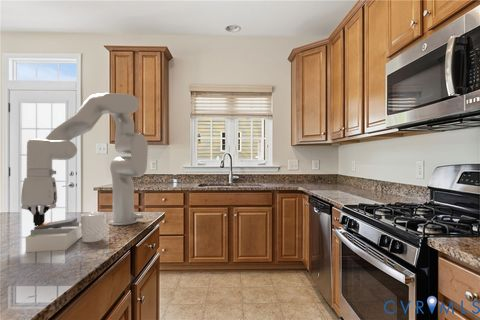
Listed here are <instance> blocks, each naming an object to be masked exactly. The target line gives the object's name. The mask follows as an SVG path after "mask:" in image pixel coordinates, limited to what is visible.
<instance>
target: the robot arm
mask: <svg viewBox="0 0 480 320" xmlns="http://www.w3.org/2000/svg"><path fill="white" fill-rule="evenodd" d="M139 106H140V103H139V99H138V98H137V96H135V95H133V94H130V93H118V92H117V93H115V92H104V93H95V94H91V95H90V96H89V97H87V98H86V99H85V100H84V101H83V103H82V104H81V106H80V107H79V108H78V109H77V110H76V111H75V112H74V113H73V115H72V116H71V117H69V118H68V119H66V120H65V121H64V122H62V123H61V124H60V125H58V126H57V127H55V128H54V129H53V130H52V131H50V132H49V134H48V135H47V136H46V137H45V138H44V139H43V138H41V139H40V138H31V139H29V140H27V142H26V177H25V178H24V180H23V183H22V187H21V195H20V197H21V199H20V201H21V202H20V203H21V209H22V210H27V211H28V212H30V213H31V215H33V216H32V217H33V219H32V221H33V225H34V227H36V226H40V225H42V224H43V223H45V219H46V218H45V216H46V213H47V212H48V211H49V210H51V209H56V207H57V204H56V203H58V189H57V182H56V177H54V176H53V175H57V170H54V169H53V161H55V160H56V161H58V160H59V161H66V160H71V159H73V158H74V157H75V156H76V155H77V153H78V148H77V146H76V144H75V143H74V142H72V141H71V140H73V139H74V138H77V137H79V136H82V135H84V134H86V133H88V132H90V131H91V130H92V129H93V128H94V127H95V125H96V124H97V123H98V121H99V120H100V119H101V117H102V116H103V115H104V114H105V115H106V114H109V116H111V117H112V119H113V121H114V123H115V132H114V134H115V135H114V149H115V151H116V152H117V153H119V154H123V155H125V154H126V156H117V157H115V158H113V159H112V160H111V162H110V164H109V165H110V166H109V170H110V174H111V179H112V219H110V220H109V221H108V224H109V225H112V226H127V225H132V224H136V223H137V222H138V219H144V217H145V216H144V213H143V214H142V213H136V211H135V185H134V184H135V183H134V181H133V178H138V177H139V178H140V177H142V176H144V175H145V174H146V171H147V170H148V169H147V168H148V156H149V155H148V152H149V144H148V140H147V138H146V137H145V135H143V134H141V133H139V132H138V133H136V132H135V122H134V121H135V120H134V119H133V118H132V116H131V114H133V113H134V114H135V113H136V112H137V111H138V109H139ZM128 155H130V156H128ZM39 206H40V207H39Z"/></svg>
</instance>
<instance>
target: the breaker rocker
mask: <svg viewBox="0 0 480 320" xmlns="http://www.w3.org/2000/svg"><path fill="white" fill-rule="evenodd" d="M77 221H78V218H77V217H74V218H68V219H63V220H57V221H50V222H49V221H48V222H44V223H43V224H42V225H40V226H38V225H37V226H34V227H33V230H36V229H49V228H55V227H61V226H66V225H72V224H74V223H75V222H77Z"/></svg>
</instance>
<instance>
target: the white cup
mask: <svg viewBox="0 0 480 320" xmlns="http://www.w3.org/2000/svg"><path fill="white" fill-rule="evenodd" d="M104 216H105V212H102V211H89V212H84V213H80V224H81V230H82V237H81V241H82V242H83V243H94V242H99V241H102V240H103V232H104Z"/></svg>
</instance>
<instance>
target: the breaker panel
mask: <svg viewBox="0 0 480 320" xmlns="http://www.w3.org/2000/svg"><path fill="white" fill-rule="evenodd" d="M80 238H81V239H82V230H81V223H80V221H78V220H77V222H75V223H74V224H72V225H66V226H61V227H55V228H49V229H36V230H34V229H31V230H30V234H29V235H27V236H25V253H36V252H37V253H38V252H40V253H41V252H51V251H52V252H55V251H66V250H67V249H69V248H70V247H71V246H72V245H74V244H75V243H76V242H77V241H78V240H79V239H80Z"/></svg>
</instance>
